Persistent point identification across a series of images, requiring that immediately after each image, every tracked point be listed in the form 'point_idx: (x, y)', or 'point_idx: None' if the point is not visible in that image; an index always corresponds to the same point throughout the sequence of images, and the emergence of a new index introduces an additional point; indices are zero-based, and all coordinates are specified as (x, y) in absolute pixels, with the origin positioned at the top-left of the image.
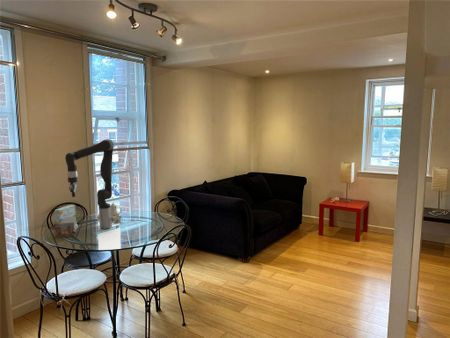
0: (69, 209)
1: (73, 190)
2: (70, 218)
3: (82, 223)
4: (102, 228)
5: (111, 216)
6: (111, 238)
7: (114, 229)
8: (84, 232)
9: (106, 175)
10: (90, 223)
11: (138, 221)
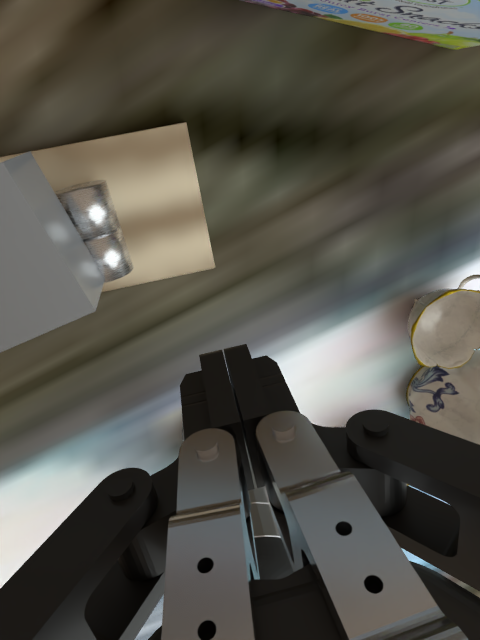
0: (457, 4)
1: (111, 626)
2: (28, 270)
3: (342, 187)
4: (182, 432)
5: (422, 412)
6: None
7: None
8: (66, 352)
9: None
10: (338, 263)
11: None
